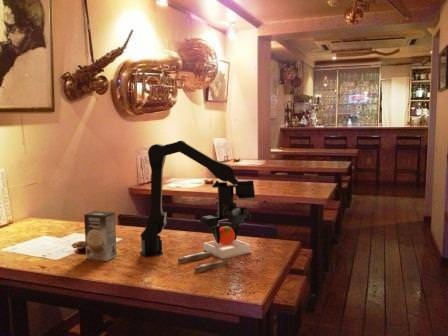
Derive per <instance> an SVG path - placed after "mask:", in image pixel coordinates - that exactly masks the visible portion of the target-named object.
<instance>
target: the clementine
mask: <svg viewBox="0 0 448 336" xmlns="http://www.w3.org/2000/svg"><path fill="white" fill-rule="evenodd" d="M219 234H220V241H219V243H220V244H222V245H230V244H231V243H232V242H233V241H234V239H235V232H234V230H233V229H232V227H231V226H228V225H224V226H221V228H220V230H219Z"/></svg>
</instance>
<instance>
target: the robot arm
mask: <svg viewBox="0 0 448 336" xmlns="http://www.w3.org/2000/svg"><path fill="white" fill-rule="evenodd" d="M176 153H181V154H182V155H185V156H186V157H188V158H189V159H191V160H193V161H194V162H196V163H198V164H200V166H203V167H205V168H206V169H207V170H209V171H210V172H211V173H212V174H213V175H215V177H217V178H218V179H219V180H217V179H216V181H215V182H214V183H213V184H212V188H214V189H215V188H216V189H217V201H216V202H215V205H217V212H216V213H215V216H213V215H205V216H201V218H200V220H199V221H200V223H199V225H202V226H204V227H207V228H209V230H210V231H211V233H212V236H213V238H214V239H215V240H216V242H217V243H218V244H219V241H220V234H219V230H220V228H221V227H222V226H221V225H220V224H219V223H222V222H228V221H230V224H231V225H230V227H231V228H232V229H233V230H234V232H235V239H234V240H236V239H237V238H238V235H239V231H240V229H241V227H242V226H243V225H244V224H246V223H247V221H251V218H252V217H251V216H252V215H251V214H250V212H249V211H248V208H247V207H246V206H245V207H240V208H239V207H238V206H237V202H236V201H235V200H234V199H235V197H237V198H238V200H254V199H255V195H256V194H255V193H256V191H255V185H254V180H253V179H248V180H239V179H238V177H236V175H235V173H234V172H235V171H234V169H233V167H232V166H231V165H230V164H227V163H225V162H223V161H220V160H216V159H213V158H211V157H210V156H208V155H206V154H205V153H203V152H202V151H200V150H198V149H197V148H194V146H191V145H190V144H188V143H186V141H184V140H179V141H176V142H171V143H168V144H167V143H166V144H162V143H155V144H152V145H150V146H149V148H148V150H147V155H148V156H147V157H148V162H149V167H150V170H151V171H150V175H151V176H150V178H151V179H150V210H149V213H148V217H147V223H146V226H145V228H144V230H143V231H142V232H141V233H140V242H141V245H140V246H141V251H140V252H139V254H141V255H143V256H144V257H146V258H150V257H153V256H159V255H163V254H164V251H163V240H162V238H161V235H159V234H160V233H162V231H163V229H164V228H165V227H166V225H167V223H168V221H167V213H168V212H167V211H165V212H164V210H163V174H164V166H165V162H166V158H167V156H171V155H173V154H176ZM221 181H222V182H221ZM228 182H229V183H230V184H228ZM234 189H235V191H234ZM234 192H235V195H234ZM234 196H235V197H234ZM215 240H214V241H215Z"/></svg>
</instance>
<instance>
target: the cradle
mask: <svg viewBox="0 0 448 336" xmlns="http://www.w3.org/2000/svg"><path fill="white" fill-rule="evenodd" d="M210 257H211V254H210V252H205V251H201V252H197V253H192V254H189V255H183V256H182V257H178V258H177V261H178V262H177V263H178V264H185V263H189V262H194V261H197V260H202V259H206V258H210ZM225 266H226V267H227V266H228V260H227V259H221V260H217V261H212V262H208V263H203V264H200V265H199V266H195V267H194V273H195V274H198V273H202V272H205V271H209V270H214V269H217V268H222V267H225Z"/></svg>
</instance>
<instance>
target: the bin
mask: <svg viewBox="0 0 448 336" xmlns="http://www.w3.org/2000/svg"><path fill="white" fill-rule="evenodd" d="M203 252H204V253H205V252H210V255H212V256H214V257H215V258H219V259H221V260H227V259H229V258H233V257H238V256H242V255H246V254H250V253H251V244H250V243H247V242H244V241H241V240H239V239H237V238H236V240H234V241H233V242H232V243H231V244H230V245H222V244H220V243H219V244H218V243H217V242H216V240H212V241H208V242H207V241H206V242H204V243H203Z"/></svg>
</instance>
